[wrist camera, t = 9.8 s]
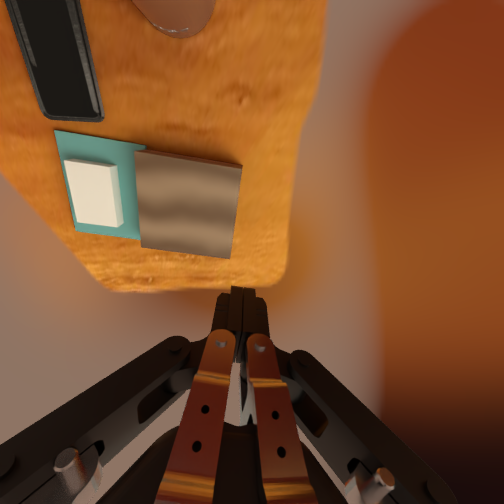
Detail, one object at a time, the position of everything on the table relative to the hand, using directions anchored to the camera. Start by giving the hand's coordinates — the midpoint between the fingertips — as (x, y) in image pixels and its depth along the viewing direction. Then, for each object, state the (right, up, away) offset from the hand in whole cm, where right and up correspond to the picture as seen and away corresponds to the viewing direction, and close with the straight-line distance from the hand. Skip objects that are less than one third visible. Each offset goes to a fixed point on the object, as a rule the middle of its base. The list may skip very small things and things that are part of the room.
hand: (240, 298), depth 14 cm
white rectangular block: (-23, +12, +20) cm, 32 cm away
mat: (-22, +12, +21) cm, 33 cm away
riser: (-9, +11, +22) cm, 26 cm away
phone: (-23, +28, +14) cm, 38 cm away
